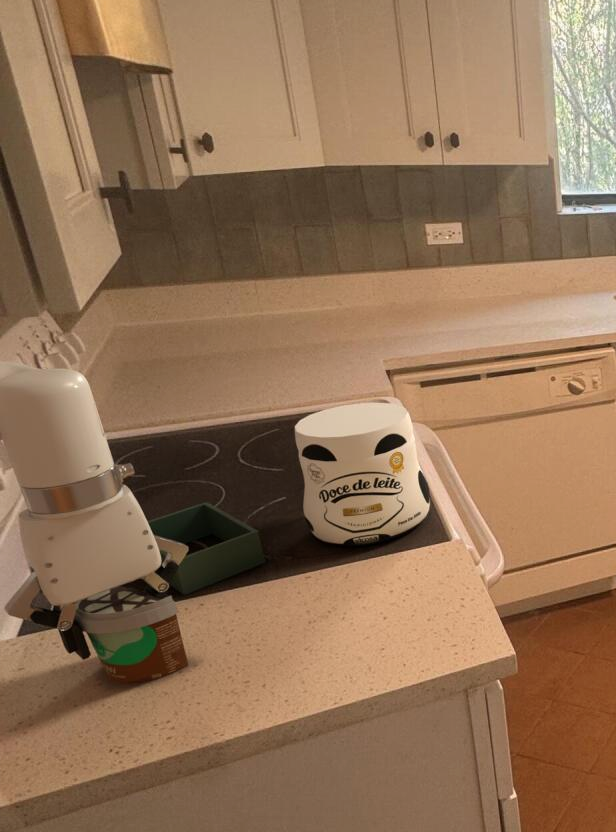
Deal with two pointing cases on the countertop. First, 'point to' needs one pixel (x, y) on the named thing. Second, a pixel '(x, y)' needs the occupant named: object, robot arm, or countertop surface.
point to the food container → (133, 634)
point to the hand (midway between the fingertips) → (122, 635)
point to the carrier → (215, 560)
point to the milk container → (361, 474)
